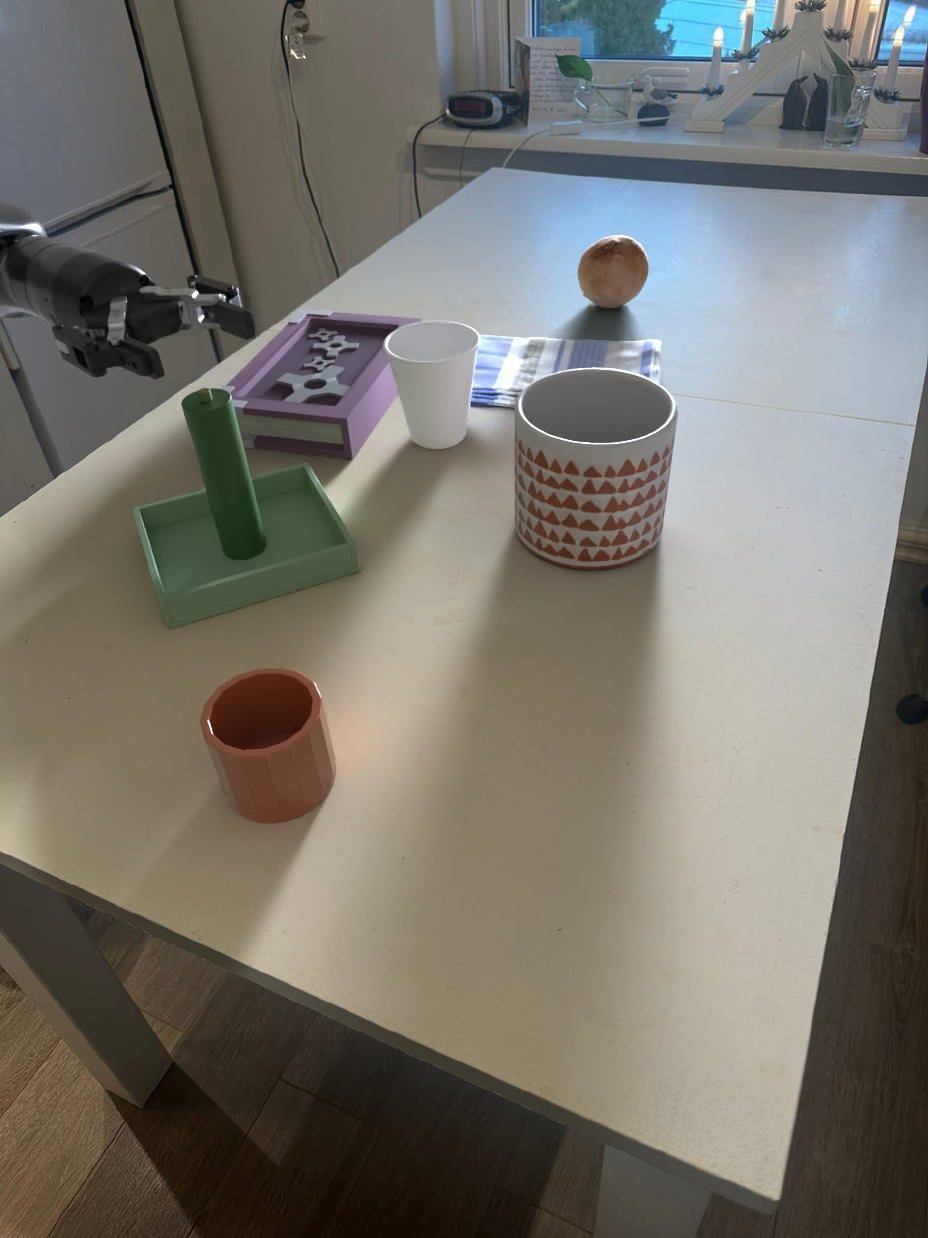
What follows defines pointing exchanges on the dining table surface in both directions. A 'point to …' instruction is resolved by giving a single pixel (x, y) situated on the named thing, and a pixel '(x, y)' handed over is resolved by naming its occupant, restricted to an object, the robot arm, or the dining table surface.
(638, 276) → the onion
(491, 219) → the dining table surface
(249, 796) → the crock
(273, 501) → the tray
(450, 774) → the dining table surface
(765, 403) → the dining table surface
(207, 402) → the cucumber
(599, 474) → the planter
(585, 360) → the dish towel
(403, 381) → the cup
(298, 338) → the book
